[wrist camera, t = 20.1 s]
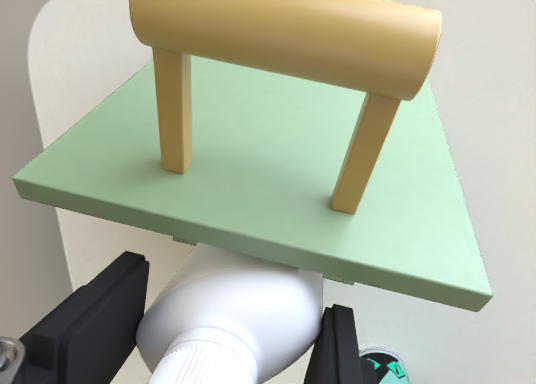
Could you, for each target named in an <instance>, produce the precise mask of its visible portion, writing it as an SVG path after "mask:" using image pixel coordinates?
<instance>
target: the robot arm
mask: <svg viewBox="0 0 536 384" xmlns="http://www.w3.org/2000/svg"><path fill="white" fill-rule="evenodd" d="M149 265H150V264H149V261H145V256H144V255H141V254H137V253H133V252H129V251H125V252H124V253H123V254H121V255H120V256H119V257H118V258H117V259H116V260H114V261H113V262H112V263H111V264H110V265H109V266H108V267H106V268H105V269H104V270H103V271H102V272H101V273H99V274H98V275H97V276H96V277H95V278H94V279H93V280H91V281H90V282H89V283H88V284H87V285H84V286H81V287H80V288H78V289H77V290H76V291H75V292H74V293H72V294H71V295H70V296H69V297H68V298H66V299H65V300H64V301H63V302H62V303H61V304H60V305H58V306H57V307H56V308H55V309H54V310H53V311H51V312H50V313H49V314H48V315H47V316H45V317H44V318H43V319H42V320H41V321H40V322H38V323H37V324H36V325H35V326H34V327H32V328H31V329H30V330H29V331H28V332H27V333H25V334H24V335H23V336H22V337H21V338H20V339H19V340H16V339H14V338H11V337H4V336H1V337H0V384H110V382H111V381H112V379H113V378H114V377H115V375H116V374H117V372H118V371H119V369H120V368H121V367H122V365H123V364H124V362H125V361H126V359H127V358H128V357H129V355H130V354H131V352H132V351H133V349H134V348H135V346H136V345H137V343H136V331H137V328H138V325H139V323H140V321H141V319H142V318H143V316H144V309H145V300H146V292H147V283H148V275H149ZM304 384H378V381H377V376H376V371H375V366H374V363H373V361H372V360H368V359H364V358H361V357H360V356H359V350H358V343H357V336H356V329H355V322H354V315H353V310H352V308H348V307H345V306H341V305H337V304H333V306H332V308H329V307H326V308H325V311H324V314H323V317H322V327H321V332H320V334H319V336H318V338H317V340H316V341H315V344H314V348H313V351H312V354H311V358H310V361H309V365H308V368H307V371H306V375H305V379H304Z"/></svg>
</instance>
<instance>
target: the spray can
mask: <svg viewBox="0 0 536 384" xmlns="http://www.w3.org/2000/svg"><path fill="white" fill-rule="evenodd" d="M359 356H360V357H361V358H364V359H368V360H372V361H373V363H374V366H375V371H376V376H377V381H378V384H410V382H409V378H408V375H407V372H406V369H405V366H404V363H403V361H402V360H401V358H400V357H399V356H398V355H396V354H395V353H394V352H392V351H390V350H387V349H384V348H368V349H365V350H362V351H360V352H359Z"/></svg>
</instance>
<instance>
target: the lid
mask: <svg viewBox="0 0 536 384" xmlns="http://www.w3.org/2000/svg"><path fill="white" fill-rule="evenodd" d="M129 10H130V18H131V23H132V27H133V30H134V32H135V35H136V37H137V38H138V40H139V41H140V42H141V43H143V44H144V45H147V46H151V47H152V50H153V60H152V61H151V62H149V63H148V64H147V65H146V66H145V67H143V68H142V69H141V70H140V71H139V72H137V73H136V74H135V75H134V76H133V77H131V78H130V79H129V80H128V81H127V82H125V83H124V84H123V85H122V86H121V87H119V88H118V89H117V90H116V91H115V92H113V93H112V94H111V95H110V96H109V97H107V98H106V99H105V100H104V101H103V102H101V103H100V104H99V105H98V106H97V107H95V108H94V109H93V110H92V111H91V112H89V113H88V114H87V115H86V116H85V117H83V118H82V119H81V120H80V121H79V122H77V123H76V124H75V125H74V126H73V127H71V128H70V129H69V130H68V131H67V132H65V133H64V134H63V135H62V136H61V137H59V138H58V139H57V140H56V141H55V142H53V143H52V144H51V145H50V146H49V147H47V148H46V149H45V150H44V151H43V152H41V153H40V154H39V155H38V156H37V157H35V158H34V159H33V160H32V161H31V162H29V163H28V164H27V165H26V166H25V167H23V168H22V169H21V170H20V171H19V172H17V173H16V174H15V175H14V176H13V178H12V179H13V181H14V183H15V186H16V188H17V191H18V193H19V195H20V197H21V198H22V199H26V200H31V201H35V202H38V203H42V204H46V205H51V206H55V207H58V208H62V209H66V210H70V211H74V212H78V213H82V214H86V215H90V216H94V217H98V218H102V219H106V220H110V221H114V222H118V223H122V224H126V225H130V226H134V227H138V228H142V229H146V230H150V231H154V232H158V233H162V234H166V235H170V236H174V237H178V238H182V239H186V240H190V241H194V242H198V243H202V244H206V245H210V246H214V247H218V248H222V249H226V250H230V251H234V252H238V253H242V254H246V255H250V256H254V257H258V258H262V259H266V260H270V261H274V262H278V263H282V264H286V265H290V266H294V267H298V268H302V269H306V270H310V271H314V272H318V273H322V274H326V275H330V276H334V277H338V278H342V279H346V280H350V281H354V282H358V283H362V284H366V285H370V286H374V287H378V288H382V289H386V290H390V291H394V292H398V293H402V294H406V295H410V296H414V297H418V298H422V299H426V300H430V301H434V302H438V303H442V304H446V305H450V306H454V307H458V308H462V309H466V310H470V311H474V312H479V311H480V310H481V309H482V308H483V307H484V306H485V305H486V303H487V302H488V301H489V300H490V299H491V298H492V297H493V292H492V289H491V285H490V282H489V279H488V275H487V272H486V269H485V266H484V262H483V259H482V256H481V252H480V249H479V246H478V242H477V239H476V236H475V233H474V229H473V226H472V223H471V219H470V216H469V213H468V209H467V206H466V203H465V200H464V196H463V193H462V190H461V186H460V183H459V180H458V176H457V173H456V170H455V166H454V163H453V160H452V157H451V153H450V150H449V147H448V143H447V140H446V137H445V133H444V130H443V127H442V124H441V120H440V117H439V114H438V110H437V107H436V104H435V100H434V97H433V94H432V91H431V87H430V84H429V81H428V77H427V76H428V73H429V71H430V69H431V66H432V63H433V61H434V58H435V55H436V51H437V48H438V44H439V40H440V35H441V30H442V14H441V12H440V11H439V10H434V9H429V8H424V7H419V6H414V5H409V4H404V3H399V2H393V1H388V0H129Z"/></svg>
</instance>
